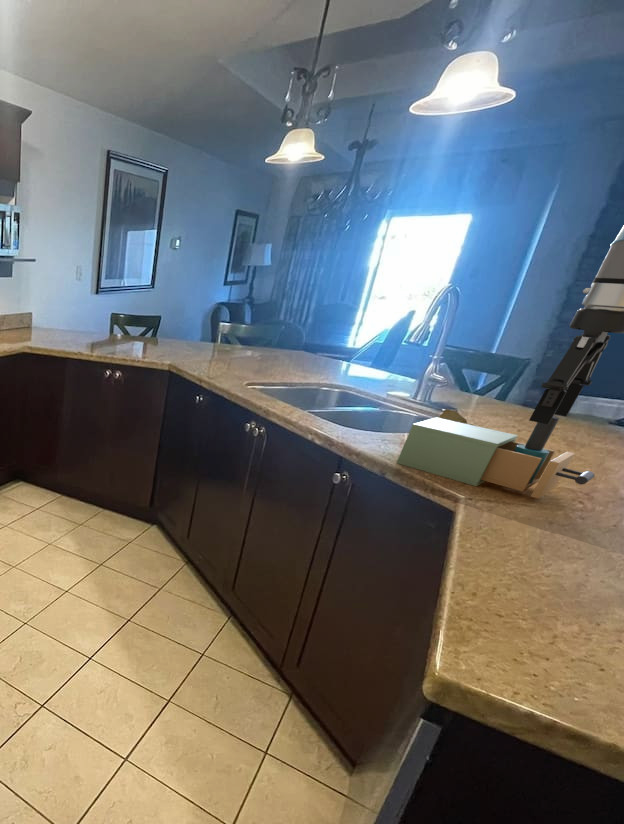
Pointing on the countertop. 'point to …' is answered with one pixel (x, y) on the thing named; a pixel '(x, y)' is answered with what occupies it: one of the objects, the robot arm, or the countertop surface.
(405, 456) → the cabinet
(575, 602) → the countertop surface
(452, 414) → the rock
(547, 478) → the drawer
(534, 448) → the dark grey teal stick
